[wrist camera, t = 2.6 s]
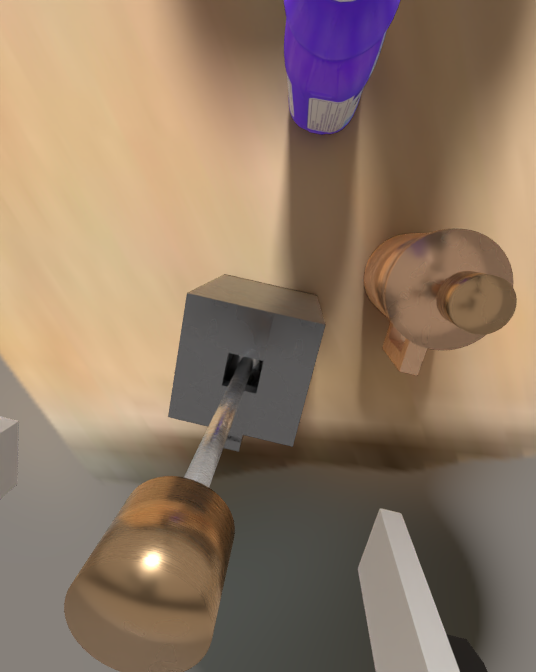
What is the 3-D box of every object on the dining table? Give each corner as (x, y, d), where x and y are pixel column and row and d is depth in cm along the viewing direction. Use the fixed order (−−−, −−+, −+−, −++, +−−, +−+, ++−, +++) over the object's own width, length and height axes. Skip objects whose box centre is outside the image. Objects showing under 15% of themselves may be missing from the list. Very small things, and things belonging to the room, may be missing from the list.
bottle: (347, 146, 31) (404, 39, 14) (282, 133, 31) (261, 12, 14) (370, 47, 29) (469, -217, 12) (300, 34, 29) (302, -245, 12)
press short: (376, 222, 32) (435, 211, 18) (465, 241, 32) (594, 246, 18) (344, 334, 35) (373, 399, 21) (425, 352, 35) (509, 430, 21)
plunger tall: (211, 305, 26) (0, 468, 8) (303, 326, 26) (313, 545, 8) (196, 390, 28) (-1, 683, 10) (282, 410, 28) (249, 748, 9)
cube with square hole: (224, 274, 34) (187, 293, 23) (316, 295, 34) (325, 324, 23) (204, 388, 38) (162, 454, 26) (288, 407, 38) (282, 483, 26)
